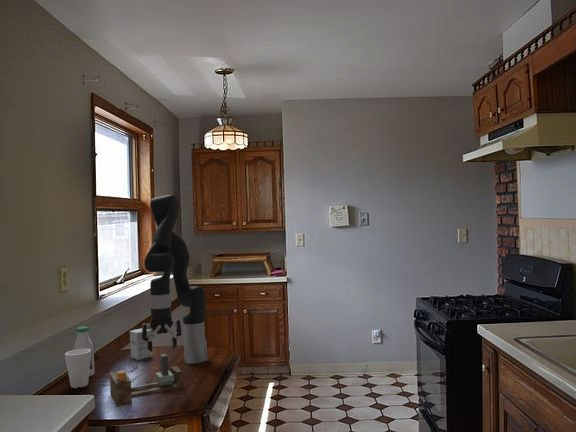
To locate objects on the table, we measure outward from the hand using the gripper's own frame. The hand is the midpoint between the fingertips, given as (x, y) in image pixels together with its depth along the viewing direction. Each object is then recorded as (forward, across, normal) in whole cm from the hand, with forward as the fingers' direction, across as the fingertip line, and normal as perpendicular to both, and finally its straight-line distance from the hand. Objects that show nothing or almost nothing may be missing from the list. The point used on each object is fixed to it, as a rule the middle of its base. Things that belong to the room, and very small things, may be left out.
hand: (162, 349), depth 189 cm
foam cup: (+15, +28, -23) cm, 39 cm away
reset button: (+8, +16, +8) cm, 20 cm away
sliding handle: (+13, 0, 0) cm, 13 cm away
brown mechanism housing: (+14, +6, +4) cm, 16 cm away
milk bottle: (+14, +25, -36) cm, 46 cm away
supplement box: (+14, -1, -51) cm, 53 cm away
